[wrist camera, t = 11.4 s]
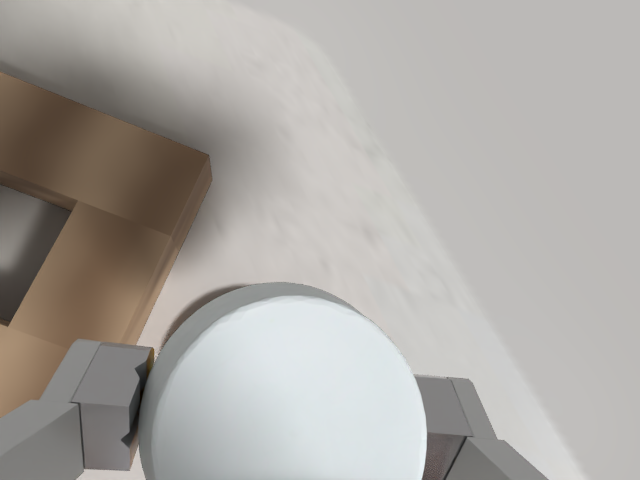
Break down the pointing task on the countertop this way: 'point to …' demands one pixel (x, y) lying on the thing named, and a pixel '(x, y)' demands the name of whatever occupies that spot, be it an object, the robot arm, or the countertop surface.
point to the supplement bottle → (281, 394)
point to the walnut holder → (90, 227)
